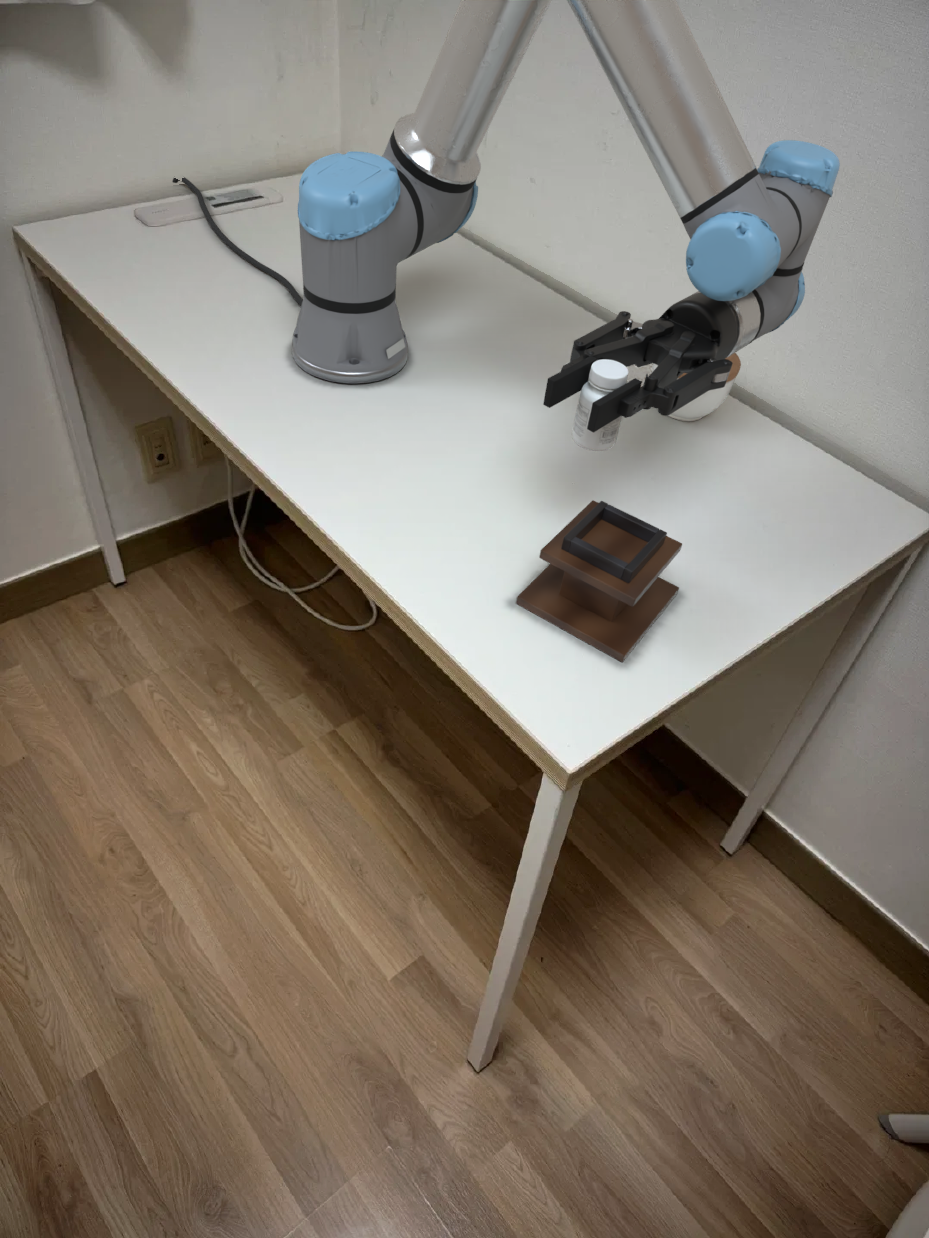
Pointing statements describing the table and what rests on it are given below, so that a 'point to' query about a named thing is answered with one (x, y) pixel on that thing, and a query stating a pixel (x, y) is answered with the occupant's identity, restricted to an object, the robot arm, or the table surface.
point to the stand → (604, 579)
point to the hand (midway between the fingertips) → (570, 405)
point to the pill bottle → (600, 383)
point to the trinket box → (707, 396)
